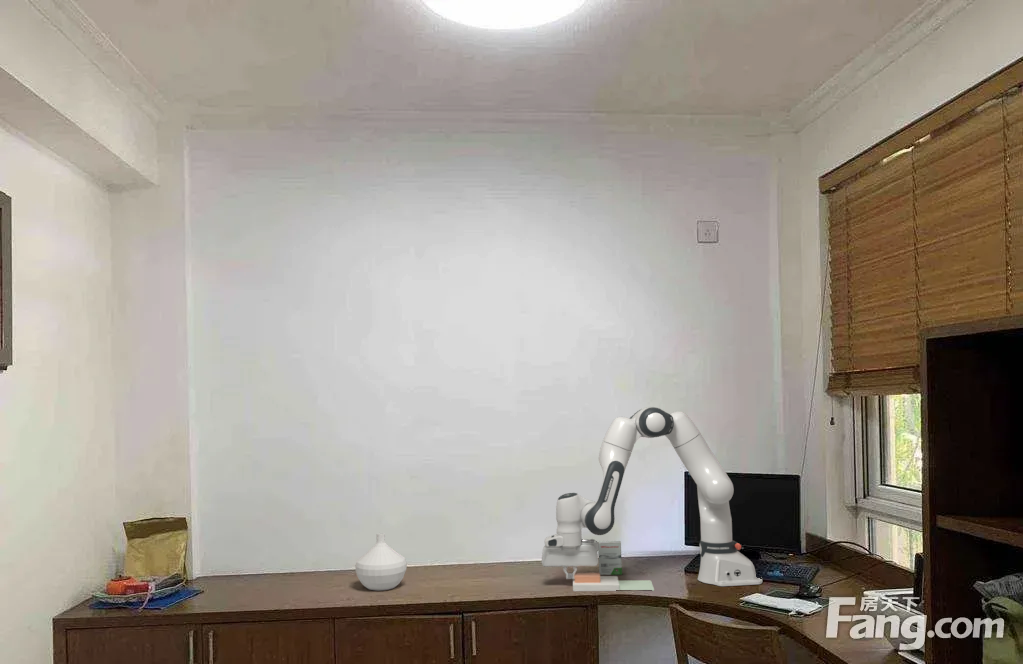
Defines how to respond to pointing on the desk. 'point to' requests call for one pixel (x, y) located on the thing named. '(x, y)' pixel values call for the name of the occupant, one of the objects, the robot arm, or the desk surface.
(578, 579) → the card
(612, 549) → the ink box
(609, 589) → the deck
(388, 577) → the vase
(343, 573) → the desk surface
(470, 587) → the desk surface
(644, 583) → the mat
